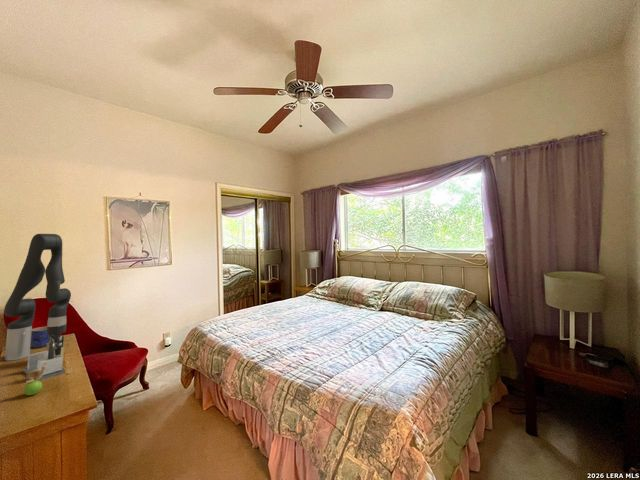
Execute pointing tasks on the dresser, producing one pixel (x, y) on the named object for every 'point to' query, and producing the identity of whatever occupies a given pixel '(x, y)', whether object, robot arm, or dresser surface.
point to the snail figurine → (34, 381)
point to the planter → (39, 337)
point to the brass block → (61, 349)
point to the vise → (33, 364)
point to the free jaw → (51, 361)
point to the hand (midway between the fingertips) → (55, 353)
